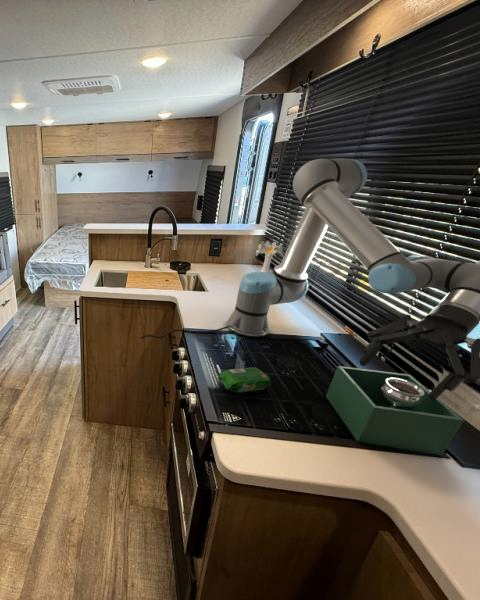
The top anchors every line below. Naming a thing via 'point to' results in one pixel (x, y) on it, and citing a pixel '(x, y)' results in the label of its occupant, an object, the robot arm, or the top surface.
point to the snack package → (244, 380)
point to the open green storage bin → (390, 413)
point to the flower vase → (268, 253)
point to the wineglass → (402, 392)
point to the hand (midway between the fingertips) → (393, 379)
